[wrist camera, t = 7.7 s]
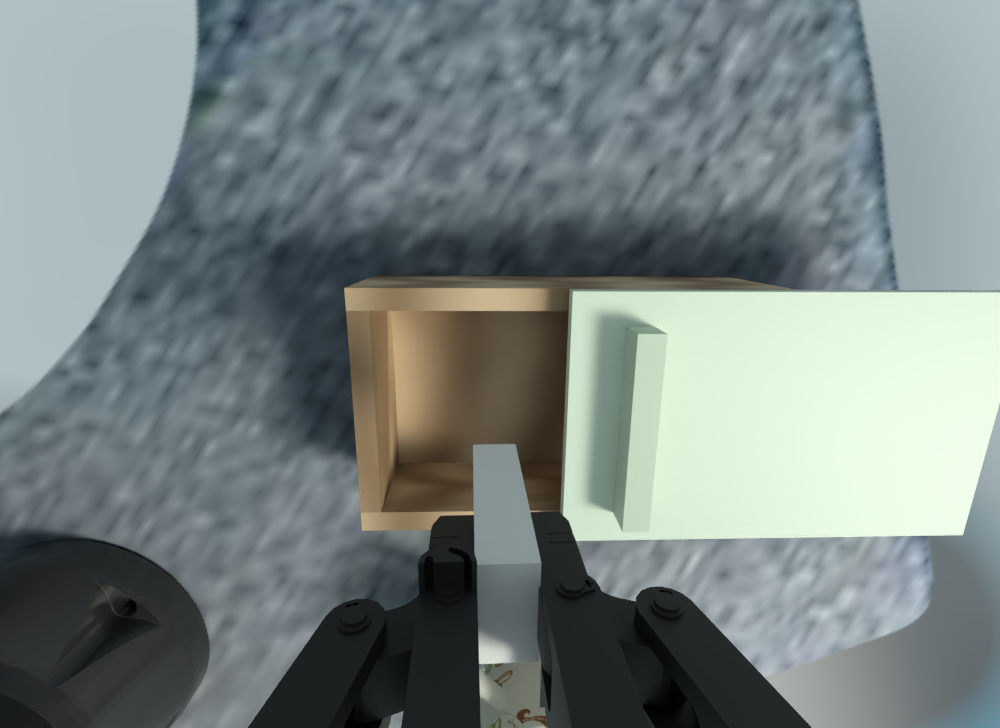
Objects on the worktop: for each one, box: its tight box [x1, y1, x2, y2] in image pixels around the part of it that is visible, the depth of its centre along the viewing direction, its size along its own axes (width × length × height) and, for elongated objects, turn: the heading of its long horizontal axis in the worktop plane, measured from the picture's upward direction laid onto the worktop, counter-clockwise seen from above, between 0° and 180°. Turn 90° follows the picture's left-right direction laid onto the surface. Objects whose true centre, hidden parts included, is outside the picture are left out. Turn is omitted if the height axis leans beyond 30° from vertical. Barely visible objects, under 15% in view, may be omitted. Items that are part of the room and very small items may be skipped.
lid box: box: [344, 275, 794, 531], centre depth 27 cm, size 20×12×6 cm, turn 90°
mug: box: [479, 653, 548, 728], centre depth 29 cm, size 8×13×10 cm, turn 44°
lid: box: [560, 289, 1000, 541], centre depth 22 cm, size 20×12×2 cm, turn 90°
